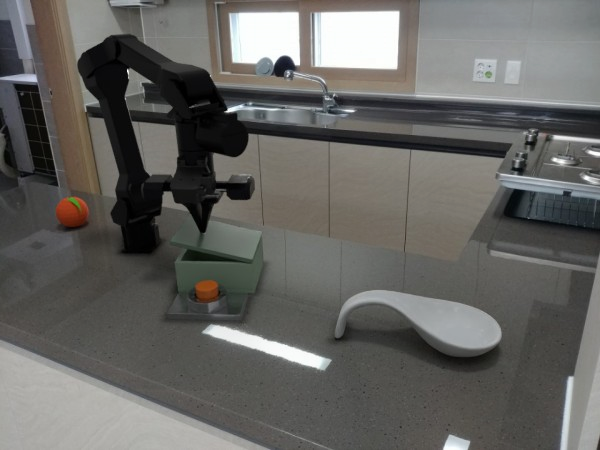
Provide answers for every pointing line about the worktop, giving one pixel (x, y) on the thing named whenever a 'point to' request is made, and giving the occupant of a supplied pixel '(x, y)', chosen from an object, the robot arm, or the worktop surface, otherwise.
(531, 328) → the worktop surface
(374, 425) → the worktop surface
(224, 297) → the control panel
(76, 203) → the clementine
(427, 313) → the spoon rest
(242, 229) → the lid
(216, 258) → the fryer
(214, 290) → the button
